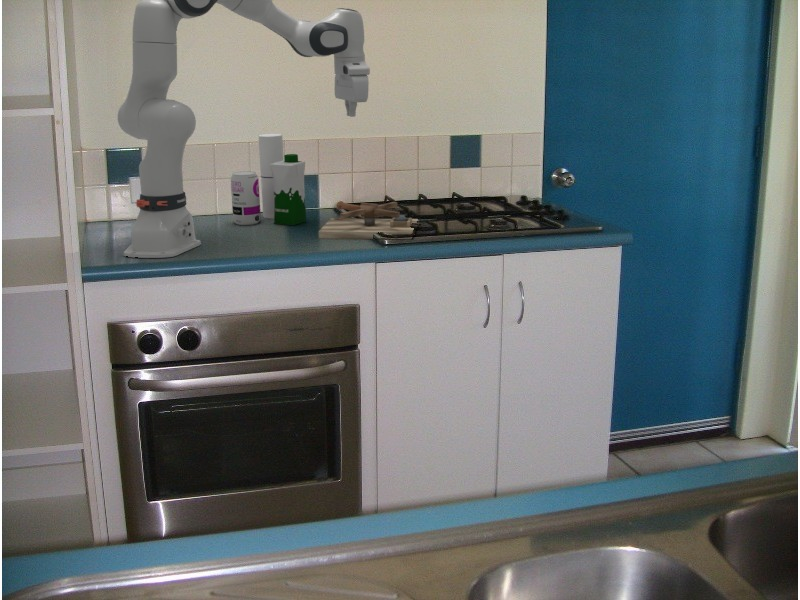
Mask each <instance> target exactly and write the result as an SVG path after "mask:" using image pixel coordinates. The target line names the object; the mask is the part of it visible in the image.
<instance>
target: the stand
mask: <svg viewBox="0 0 800 600" xmlns="http://www.w3.org/2000/svg"><path fill="white" fill-rule="evenodd" d="M417 221H418V222H419V219H418V218H413V217H406V221H396V218H394V217H391V218H376V217H363V218H353V217H351V218H346V219H340V217H339V218H337V217H334V218H333V217H331V218H329V219H328V221H327V222H326V223H325V224H323V226H322V227H321V228H320V229H319V230H318V239H333V240H334V239H335V240H337V239H338V240H339V239H341V240H343V239H345V240H348V239H349V240H374V239H373V234H374V233H378V232H379V233H380V232H384V233H391V234H412V233H413V230H414V228H411V227H410V226H411V224H412V223H417Z"/></svg>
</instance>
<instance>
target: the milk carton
mask: <svg viewBox="0 0 800 600" xmlns="http://www.w3.org/2000/svg"><path fill="white" fill-rule="evenodd" d="M270 168H271V172H272V176H273V187H274V206H275V208H274V219H273V224H274V225H275V224H277V225H284V226H285V225H287V226H296V225H300V224H302V223H305V222H307V212H306V211H307V209H306V194H305V193H306V192H305V191H306V190H305V189H306V188H305V172H306V171H305V170H306V169H305V168H306V162H305V161H302V160H301V161H299V154H296V153H289V154H283V161H280V162H275V163H273V164H270Z"/></svg>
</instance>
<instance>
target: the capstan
mask: <svg viewBox="0 0 800 600" xmlns="http://www.w3.org/2000/svg"><path fill="white" fill-rule="evenodd" d="M336 208H337V209H338V210H348V211H344V212H341V213H340V212H339V218H340V219H346V218H356V217H359V216H361V218H364V217H375V218H376V217H378V216H383V217H389V218H398V217H400V215H401V213H400V211H394V210H390V209H394V208H395V209H396V208H398V202H397V201H391V202H387V203H382V204H378V203H373V202H372V203H369V202H368V203H367V202H360V205H358V204H353V203H346V202H344V201H341V200H340V201H337V203H336Z"/></svg>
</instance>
